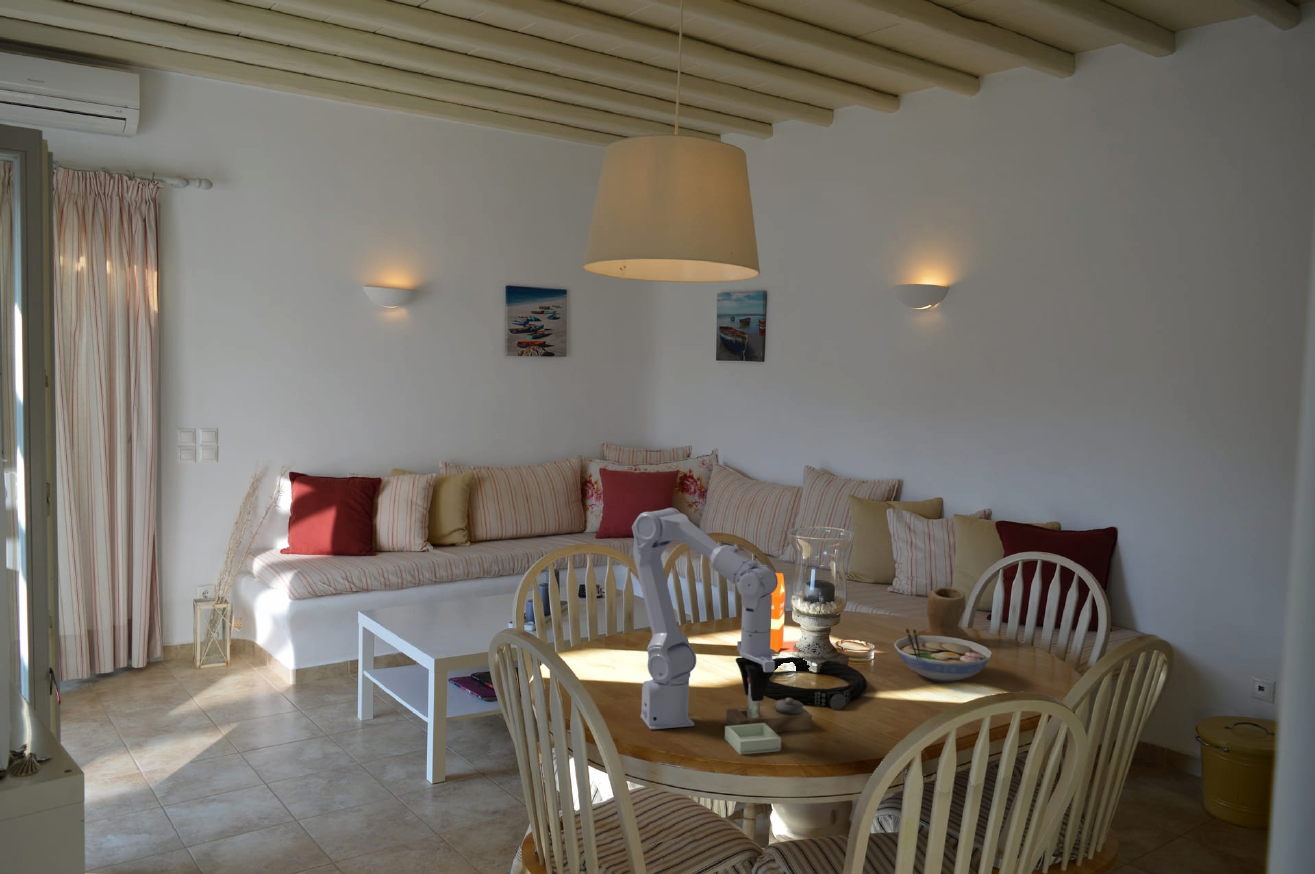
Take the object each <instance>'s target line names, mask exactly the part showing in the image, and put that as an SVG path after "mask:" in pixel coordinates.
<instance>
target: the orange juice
mask: <svg viewBox="0 0 1315 874" xmlns="http://www.w3.org/2000/svg"><path fill="white" fill-rule="evenodd" d="M775 573H776V575H777V579H778V585H777V588H776V590H775V591H774V592H773V593H771V594H772V614H771V643H770V649H773V650H775V651H776V653H778V652H779V651H780V649H781V648H782V647H783V645H784V633H785V632H784V628H785V627H784V626H785V605H786V604H785V602H786V601H785V600H786V599H785V597H786V591H785V590H786V589H785V581H784V573H782V572H781V573H780V572H775ZM769 595H770V594H769Z"/></svg>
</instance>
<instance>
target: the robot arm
mask: <svg viewBox="0 0 1315 874" xmlns="http://www.w3.org/2000/svg"><path fill="white" fill-rule="evenodd" d="M631 531H632V534H633V538H634V539H633V549H632V556H633V560H634V564H635V568H636V572H637V575H638V580H639V584H640V588H641V592H642V597H643V601H644V606H645V610H646V612H647V613H646V614H647V617H648V622H649V626H650V630H651V635H652V637H651V639H650V642H649V644H648V646H647V648H646V650H647V658H648V659H647V671H648V673H649V675H650V677H651V678H652V679H650V680H645V681H644V682H643V683H642V686H641V687H642V689H641V713H640V718H641V719H642V720H643V722H644V723H645V724H646V726H647V727H648V728H649V729H650V730H661V729H672V728H684V727H685V728H686V727H694V726H695V722H694V721H693V720H692V719H691V718H690V717H689V699H690V698H689V697H690V696H689V693H690V692H689V691H690V689H689V688H690V678H691V672H692V671H693V670H694V669H695V667H696V665H697V655H696V652H695V650H694V649H693V648H692V646H691V645H690V642H689V638H688V636H687V635H686V634H685V633H683V632H682V631H681V630H680V629H679V626H678V622H677V618H676V614H675V610H674V606H673V601H672V598H671V594H670V593H671V592H670V590H669V586H668V582H667V578H666V573H665V570H664V565H663V561H662V555H663V553H664V552H665V550H666V548H667V547H668V545H670V543H672V542H675V541H676V542H677V541H679V542H681V543H683V544H684V545H686V546H688V548H689V547H690V548H691V549H693V550H694V551H696V552H698V553H699V554H700V555H702V556H703V557H705V558H708V559H709V560H710V563H711V567H712V569H713V570H714V571H715V572H717V573H719V575H721V576H723V578H725V579H726V580H728V581H729V582H730V583H732V584H733V585H735V586H736V588H737V592H738V594H739V595H740V597H741V629H740V630H741V632H740V635H741V636H740V638H741V639H740V641H736V642H737V643H736V644H737V648H736V651H737V652H738V653H739V655H740V657H736V658H735V662H736V665H737V666H738V670H739V672H740V675H741V681H742V684H743V689H744V694H745V696H748V687H749V682H750V692H751V698H752V701H760V702H761V701H764V697H765V696H766V695H765V691H766V688H767V684H768V682H769V680H770V679H771V677H772V675H774V674H775V673H774V671H775V662H774V661H773V659H774V658H773V656H774V655H775V656H776V654H777V652H776V651H775V650H773V649H770V643H771V614H772V594H771V593H773V592H774V591H775V590H776V588H777V585H778V579H777V575H776V573H777V572H775V571H774V569H773V568H772V567H771V566H770V565H766V564H760V565H759V564H758V561H756V560H754V559H752V560H751V559H750V558H748V557H747V556H746V555H744V553H742V552H740V551H739V550H740V549H739V547H737V546H736V545H729V544H725V545H720V544H719V543H718V542H716V541H715V540H714V539H713V538H711V537H710V536H709V535H708V534H707V533H706V532H704V531H703V530H701V529H700V528H699V527H698V526H696V525H695V524H694V523H692V522H691V521H690V520H689V517H688V516H687V515H686V514H684V513H682V512H680V511H679V510H678V509H676V508H674V507H668V508H665V509H660V510H654V511H644V512H642V513H640V514H639V515H638V516H637V517H636V519H635V520H634V522H633V524H632V526H631ZM769 594H770V595H769ZM773 673H774V674H773ZM747 677H749V682H748V681H747ZM770 681H771V680H770Z"/></svg>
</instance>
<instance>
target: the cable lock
mask: <svg viewBox="0 0 1315 874" xmlns="http://www.w3.org/2000/svg"><path fill="white" fill-rule="evenodd" d="M803 658H804V657H803ZM803 658H801V657H796V656H788V657H776V658H772V659H773V661H774V662H775V670H776V669H777V668H778V666H780V665H781V664H783V663H790V662H793V663H794V664H795V666H796V672H797V673H798V672H801V673H804V672H807V671H809V669H808V668H809V667H810V666H809V665H807V661H805V660H803ZM819 674H820V675H828V676H830V677H834V678H839V679H842V680H843V681H845V682H846V683H849V684H848V685H845V686H836V687H832V688H831V687H830V688H812V687H811V688H810V687H809V688H808V687H807V688H805V687H800V686H799V687H798V686H793V685H786V684H782V683H780V682H775V681H773V680H769V682H768V684H767V688H766V691H765V695H764V696H766V697H770V698H772V699H775V700H777V701H778V700H783V699H786V698H792V699H793V700H796V701H799V702H801V703H802V704H803V705H814V706H817V707H825V706H826V707H827V708H828V709H832V710H835V711H837V710H843V709H844V707H846V705H847V704H849V702H851V701H854V700H856V699H859V698H861V697H862V696H863V695H864V694H865V693H866V692H867V689H868V682H867V681H868V680H867V679H866V678H865V676H864V675H863V674H862V673H861V672H860V671H859V670H857V669H855V668H853V667H851V666H849V665H848V664H845V663H840V662H837V661H834V660H828V661H827V660H826V662H824V663H822V666H821V668H820V673H819Z"/></svg>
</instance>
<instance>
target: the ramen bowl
mask: <svg viewBox="0 0 1315 874" xmlns="http://www.w3.org/2000/svg"><path fill="white" fill-rule="evenodd" d="M905 632H906V634H907V636H905V637H902V638H900V639H899V638H898V639H897V640H896V641H895V642H894V644H893V645H894V648H895V650H896V652H897V654H898V656H899V657H900V659H901V660H902V662H904V664H905V665H906V667H908V668H909V669H910V670H911V671H913V672H915V673H917V674H918V675H920V676H923V677H925V678H926V679H928V680H930V681H933V682H938V683H953V682H957V681H959V680H964V679H965V680H966V679H968V678H970V677H973V676H974V675H976V674H979V673H980V672H981V671H982V670H983V669H984V667H985V666H986V665H988V662H989V661H990V660H991V659H990V658H991V657H992V653H993V651H991V650H990V649H989V648H988V647H987V646H984V645H982V644H979V643H978V642H975V641H971V640H968V639H958V638H951V637H943V636H917V634H916V633H917V630H916V629H913V630H912V632H913V636H912V635H911V632H910V629H908V628H906V629H905Z"/></svg>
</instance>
